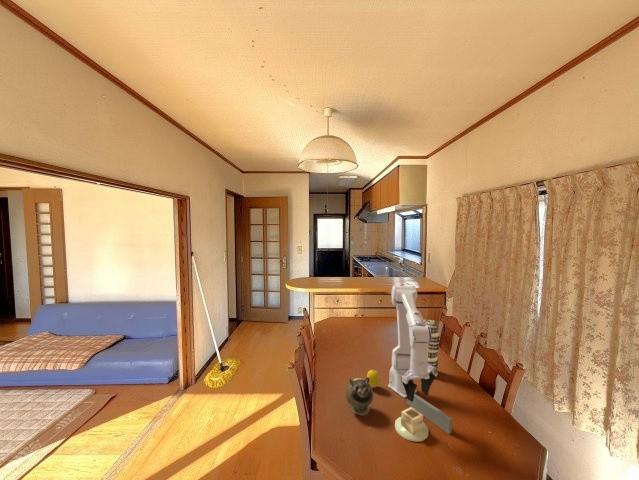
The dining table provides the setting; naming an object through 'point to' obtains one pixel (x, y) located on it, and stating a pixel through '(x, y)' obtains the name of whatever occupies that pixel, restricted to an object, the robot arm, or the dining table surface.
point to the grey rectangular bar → (431, 413)
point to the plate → (407, 435)
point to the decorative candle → (433, 345)
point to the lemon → (373, 378)
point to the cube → (412, 420)
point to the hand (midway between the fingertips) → (417, 396)
